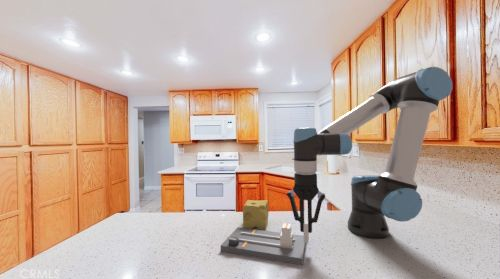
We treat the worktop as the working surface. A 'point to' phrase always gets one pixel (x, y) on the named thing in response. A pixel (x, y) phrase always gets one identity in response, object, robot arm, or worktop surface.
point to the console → (264, 245)
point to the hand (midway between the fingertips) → (306, 241)
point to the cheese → (255, 214)
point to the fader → (286, 235)
